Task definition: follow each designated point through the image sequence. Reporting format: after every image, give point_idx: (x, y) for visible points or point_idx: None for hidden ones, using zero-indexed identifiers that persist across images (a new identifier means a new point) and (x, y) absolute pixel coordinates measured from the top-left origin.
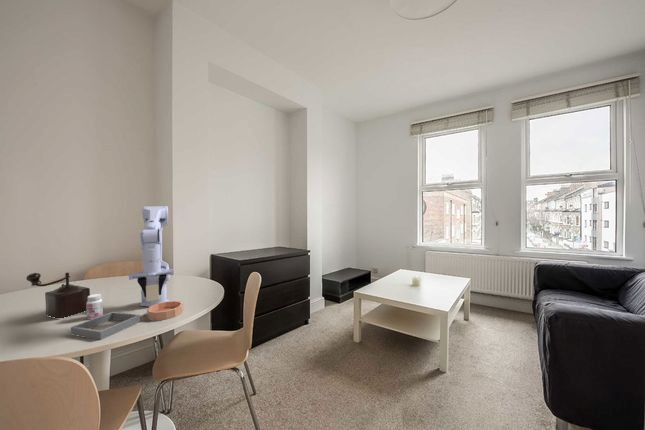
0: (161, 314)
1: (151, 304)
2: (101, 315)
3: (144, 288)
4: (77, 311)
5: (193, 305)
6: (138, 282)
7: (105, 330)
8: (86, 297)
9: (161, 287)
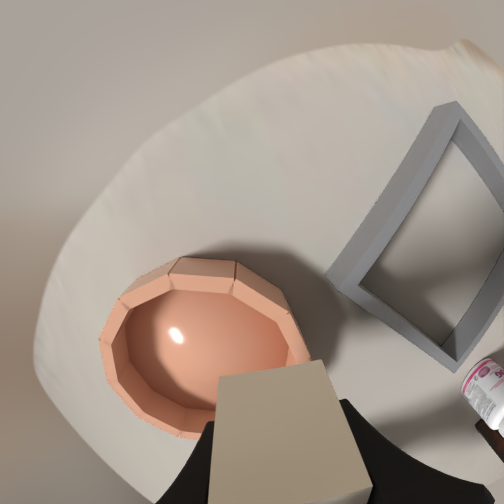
0: (196, 268)
1: None
2: (466, 379)
3: (377, 458)
4: None
5: (102, 399)
6: (483, 487)
7: (447, 117)
8: (502, 443)
9: (183, 475)
